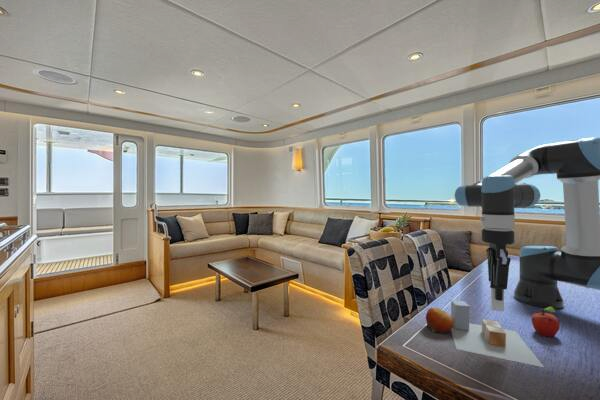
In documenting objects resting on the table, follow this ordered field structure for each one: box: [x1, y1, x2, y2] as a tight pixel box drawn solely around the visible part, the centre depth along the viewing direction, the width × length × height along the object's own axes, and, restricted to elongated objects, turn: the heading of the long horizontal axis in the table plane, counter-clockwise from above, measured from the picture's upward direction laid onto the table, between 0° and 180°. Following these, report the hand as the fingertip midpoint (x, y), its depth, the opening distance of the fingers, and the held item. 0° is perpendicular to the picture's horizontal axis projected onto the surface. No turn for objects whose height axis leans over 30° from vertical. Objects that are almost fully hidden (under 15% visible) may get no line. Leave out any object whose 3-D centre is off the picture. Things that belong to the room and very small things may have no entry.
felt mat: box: [450, 322, 545, 368], centre depth 76 cm, size 19×19×1 cm
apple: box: [531, 307, 561, 338], centre depth 79 cm, size 8×7×10 cm
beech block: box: [481, 318, 506, 348], centre depth 76 cm, size 4×4×8 cm
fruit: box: [425, 307, 454, 334], centre depth 82 cm, size 8×8×8 cm
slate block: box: [450, 299, 470, 331], centre depth 83 cm, size 4×4×8 cm
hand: (497, 309), depth 74 cm, fingers closed
